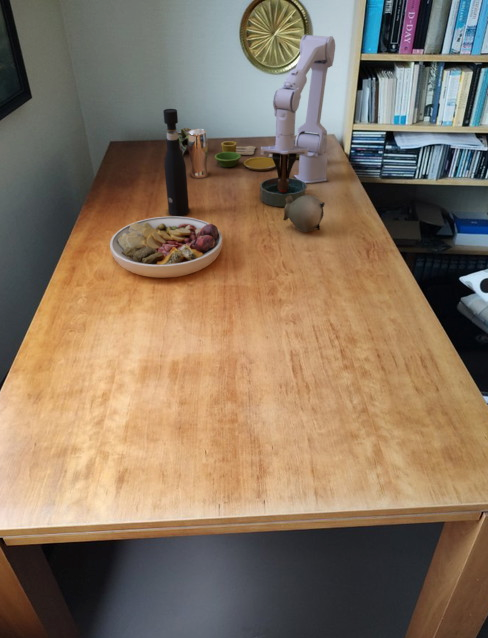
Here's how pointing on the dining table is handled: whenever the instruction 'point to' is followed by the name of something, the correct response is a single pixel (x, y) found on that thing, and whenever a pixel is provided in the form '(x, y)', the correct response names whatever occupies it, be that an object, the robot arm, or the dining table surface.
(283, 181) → the muddler
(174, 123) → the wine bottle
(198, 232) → the bowl
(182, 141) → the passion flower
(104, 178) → the dining table surface
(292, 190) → the bowl
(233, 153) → the tableware set
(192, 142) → the metal tumbler
